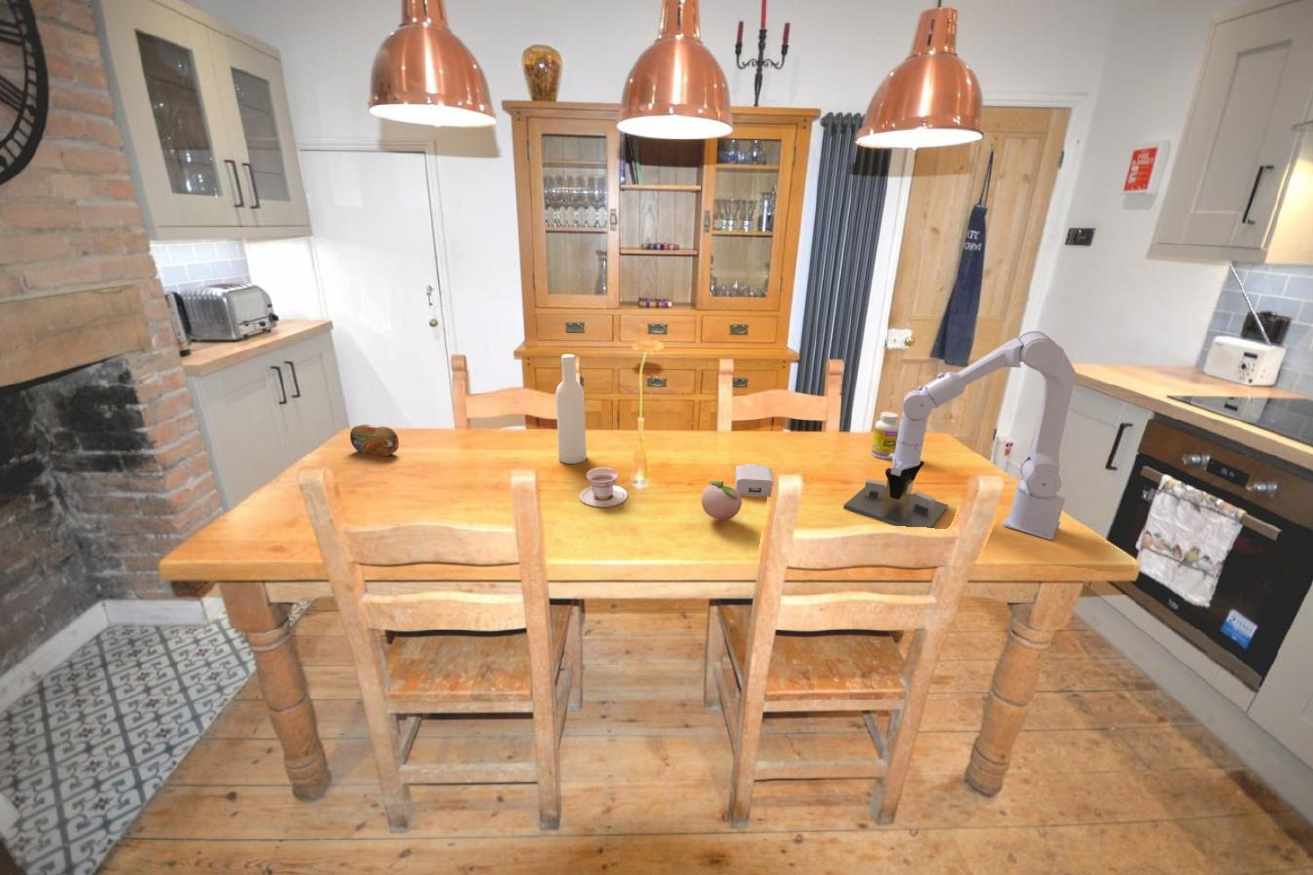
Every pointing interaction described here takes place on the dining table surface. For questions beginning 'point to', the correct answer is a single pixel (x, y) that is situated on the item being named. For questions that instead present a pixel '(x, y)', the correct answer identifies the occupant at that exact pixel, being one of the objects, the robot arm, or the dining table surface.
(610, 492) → the teacup
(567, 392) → the bottle
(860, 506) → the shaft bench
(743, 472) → the charger
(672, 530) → the dining table surface
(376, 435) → the tin
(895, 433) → the supplement bottle
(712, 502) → the decorative fruit
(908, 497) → the block
